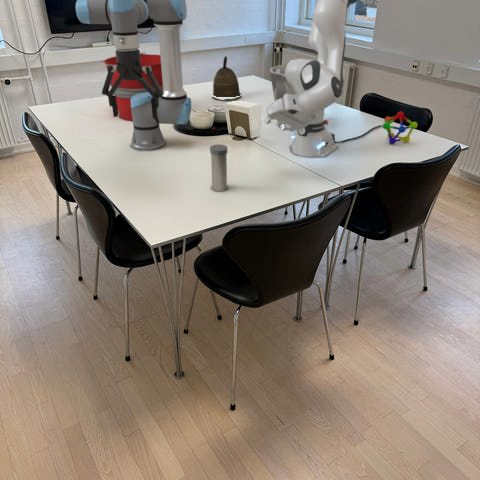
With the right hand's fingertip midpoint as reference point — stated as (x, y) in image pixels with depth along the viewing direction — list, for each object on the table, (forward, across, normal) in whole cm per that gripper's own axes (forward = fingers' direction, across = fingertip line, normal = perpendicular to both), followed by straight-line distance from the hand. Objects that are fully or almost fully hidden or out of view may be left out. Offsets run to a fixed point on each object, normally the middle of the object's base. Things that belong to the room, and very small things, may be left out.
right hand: (274, 125), depth 172 cm
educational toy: (-17, -70, -2) cm, 72 cm away
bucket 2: (+25, -53, -29) cm, 65 cm away
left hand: (+20, +50, +2) cm, 54 cm away
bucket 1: (+90, -3, -55) cm, 106 cm away
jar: (+19, +16, +22) cm, 33 cm away
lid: (+9, +23, +12) cm, 27 cm away
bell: (+74, -57, -76) cm, 120 cm away
